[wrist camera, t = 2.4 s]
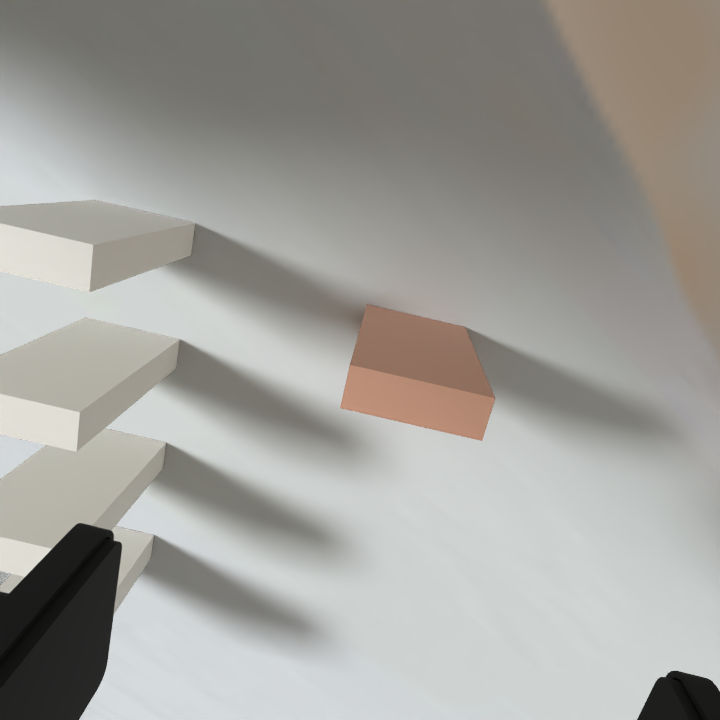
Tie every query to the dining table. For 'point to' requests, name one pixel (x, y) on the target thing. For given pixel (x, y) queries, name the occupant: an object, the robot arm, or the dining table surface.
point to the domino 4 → (131, 563)
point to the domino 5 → (418, 374)
